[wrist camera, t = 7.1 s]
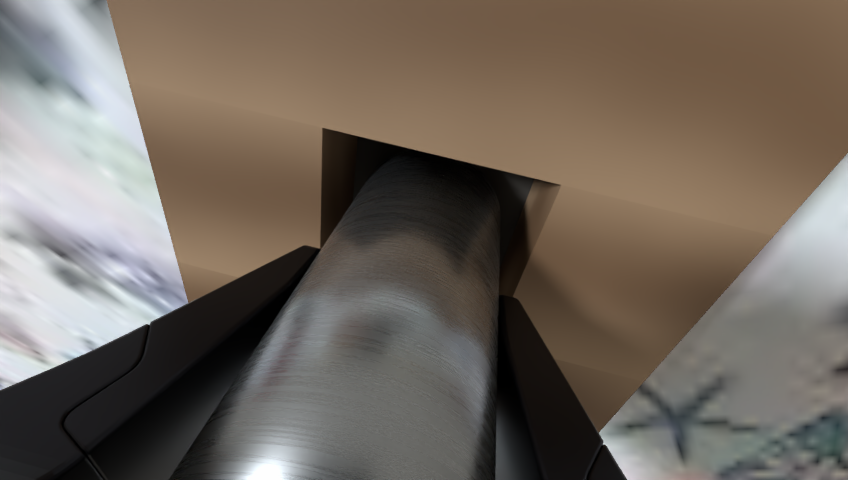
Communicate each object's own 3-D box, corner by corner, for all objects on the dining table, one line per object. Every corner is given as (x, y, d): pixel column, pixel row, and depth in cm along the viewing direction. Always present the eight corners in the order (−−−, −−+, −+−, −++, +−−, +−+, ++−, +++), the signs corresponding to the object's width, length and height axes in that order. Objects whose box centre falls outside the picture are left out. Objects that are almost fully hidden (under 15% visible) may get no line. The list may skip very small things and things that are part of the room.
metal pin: (479, 282, 12) (427, 900, 4) (357, 251, 12) (73, 788, 4) (519, 168, 10) (590, 1096, 2) (368, 132, 10) (-229, 834, 2)
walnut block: (567, 370, 16) (580, 453, 14) (252, 288, 17) (202, 352, 14) (828, -24, 8) (1002, -21, 5) (197, -158, 9) (46, -221, 6)
